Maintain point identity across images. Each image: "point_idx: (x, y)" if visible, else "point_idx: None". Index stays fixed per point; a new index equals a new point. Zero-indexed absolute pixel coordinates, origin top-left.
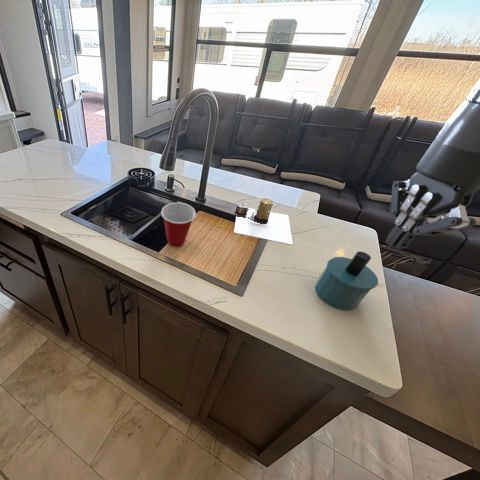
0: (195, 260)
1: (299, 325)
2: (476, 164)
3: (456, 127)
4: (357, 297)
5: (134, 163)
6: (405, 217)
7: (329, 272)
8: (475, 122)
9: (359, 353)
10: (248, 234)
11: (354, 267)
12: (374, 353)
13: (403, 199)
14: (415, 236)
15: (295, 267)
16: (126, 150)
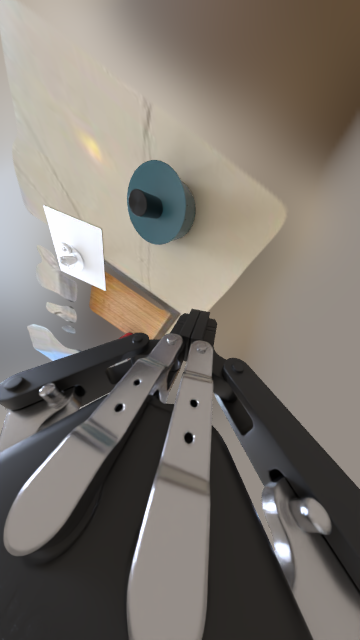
0: (148, 331)
1: (210, 280)
2: None
3: None
4: (189, 208)
5: (51, 339)
6: (172, 385)
7: None
8: None
9: (248, 232)
10: (103, 277)
11: (154, 214)
12: (253, 211)
13: (103, 384)
14: (213, 344)
15: (138, 245)
16: (36, 340)
